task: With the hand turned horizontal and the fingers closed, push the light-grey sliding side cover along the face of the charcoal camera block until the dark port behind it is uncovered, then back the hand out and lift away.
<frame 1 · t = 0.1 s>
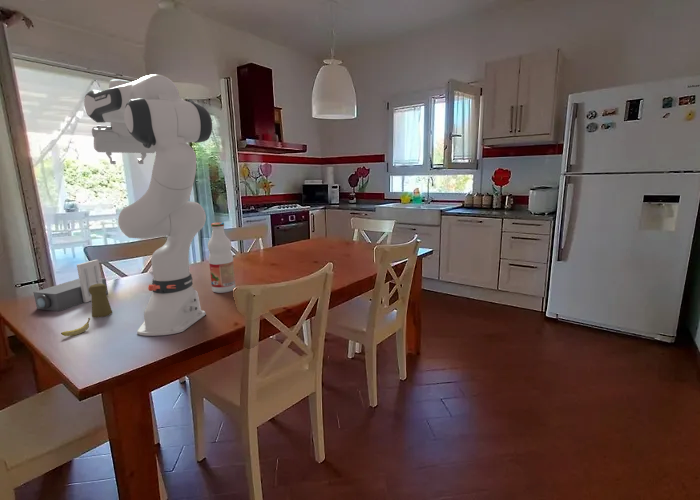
hand: (127, 163, 142), 52 cm above the table, tool tilted 20°, fingers open, 8 cm apart
banana: (78, 334, 115), on the table
fruit juice: (224, 290, 154), on the table
cork: (102, 314, 130), on the table
cover: (91, 280, 144), point 8 cm above the table, slide at 0.0 cm
camera block: (74, 300, 145), on the table
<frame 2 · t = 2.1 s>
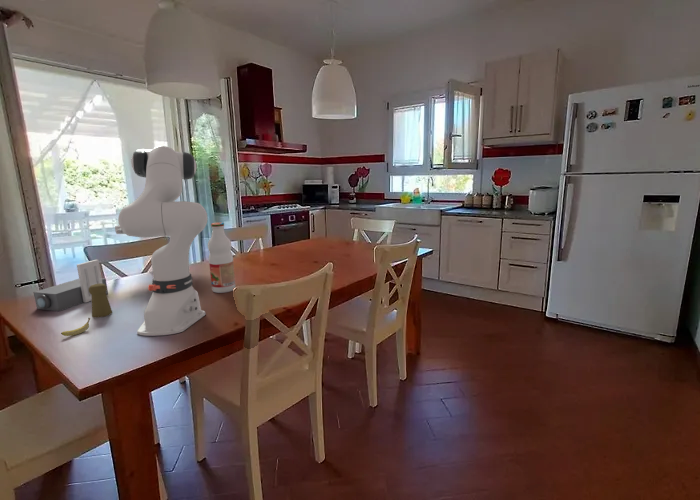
hand: (123, 232, 156), 24 cm above the table, tool horizontal, fingers open, 5 cm apart
nothing on the table moved.
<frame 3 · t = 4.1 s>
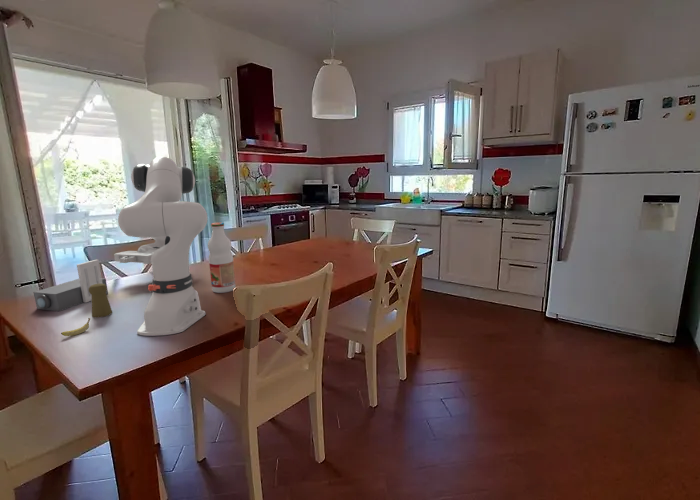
hand: (121, 261, 156), 12 cm above the table, tool horizontal, fingers closed
nothing on the table moved.
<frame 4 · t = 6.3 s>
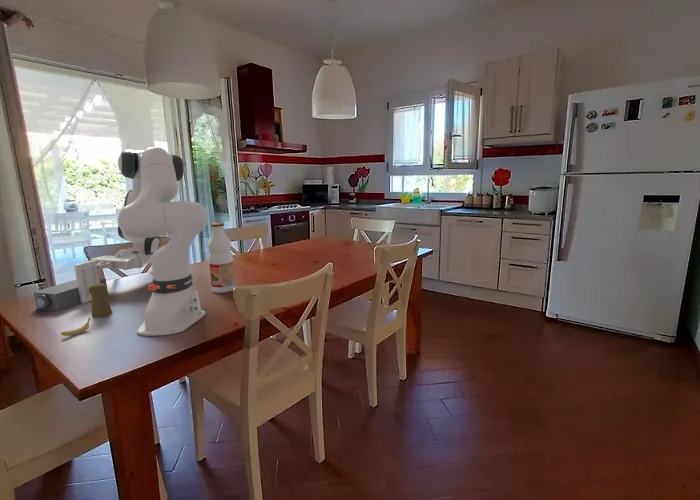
hand: (97, 267, 146), 12 cm above the table, tool horizontal, fingers closed, pressing on cover
cover: (89, 281, 143), point 8 cm above the table, slide at 1.0 cm, touching gripper
everything else where it was.
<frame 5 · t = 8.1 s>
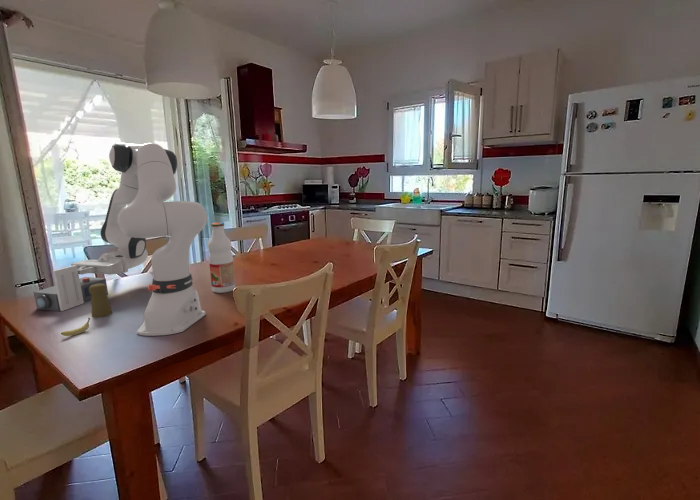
hand: (78, 272, 138), 12 cm above the table, tool horizontal, fingers closed, pressing on cover
cover: (69, 287, 136), point 8 cm above the table, slide at 8.8 cm, touching gripper
everything else where it was.
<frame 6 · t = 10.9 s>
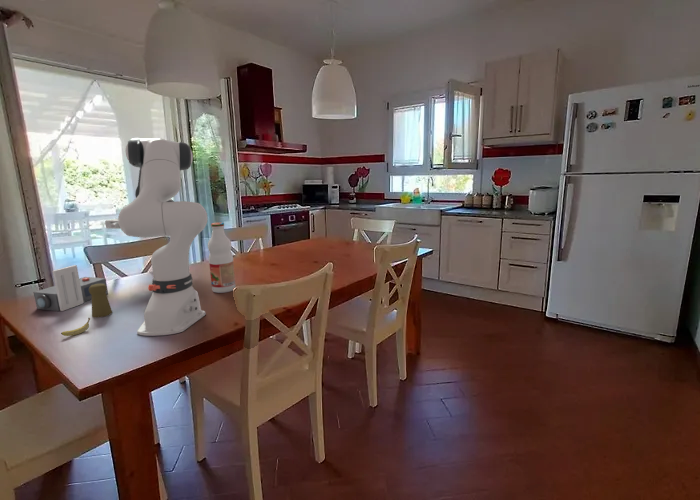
hand: (112, 226, 152), 27 cm above the table, tool horizontal, fingers closed
cover: (69, 287, 136), point 8 cm above the table, slide at 8.9 cm
everything else where it was.
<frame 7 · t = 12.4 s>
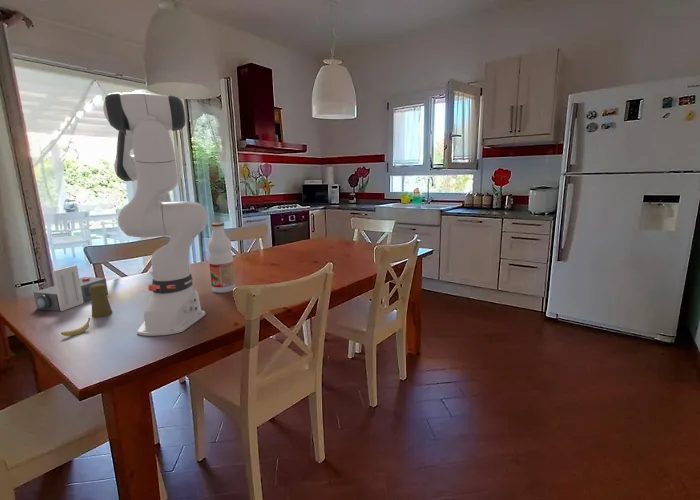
hand: (159, 220, 158), 28 cm above the table, tool pointing down, fingers closed
nothing on the table moved.
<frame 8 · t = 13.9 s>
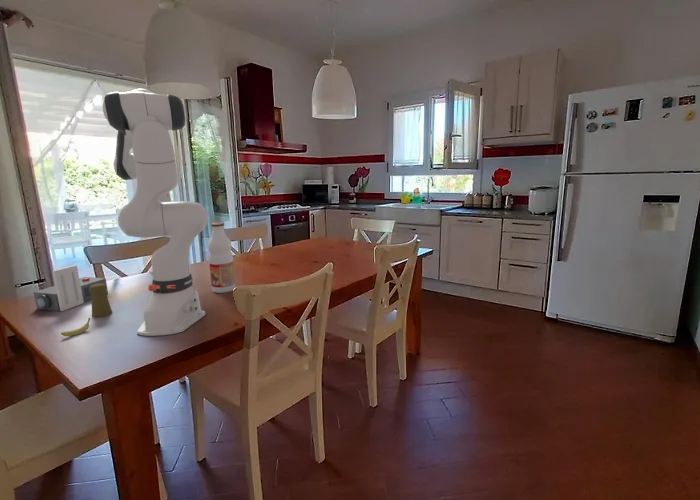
hand: (159, 218, 158), 29 cm above the table, tool pointing down, fingers closed
nothing on the table moved.
at the end: cover slide at 8.9 cm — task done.
